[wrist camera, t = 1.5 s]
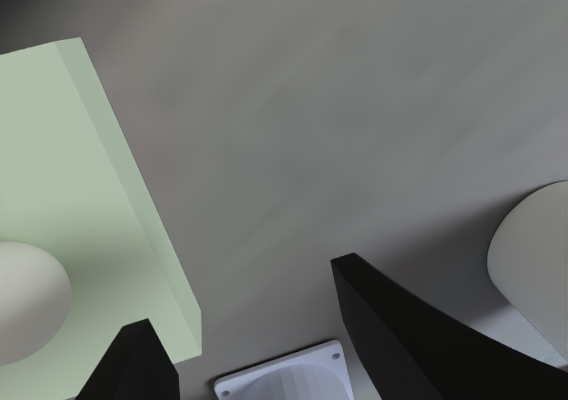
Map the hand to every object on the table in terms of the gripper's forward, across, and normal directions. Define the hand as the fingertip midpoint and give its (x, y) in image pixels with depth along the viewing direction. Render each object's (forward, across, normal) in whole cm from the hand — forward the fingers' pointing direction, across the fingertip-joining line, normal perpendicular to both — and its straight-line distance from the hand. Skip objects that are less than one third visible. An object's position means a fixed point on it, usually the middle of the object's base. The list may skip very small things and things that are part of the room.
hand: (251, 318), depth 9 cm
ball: (+4, +8, 0) cm, 9 cm away
